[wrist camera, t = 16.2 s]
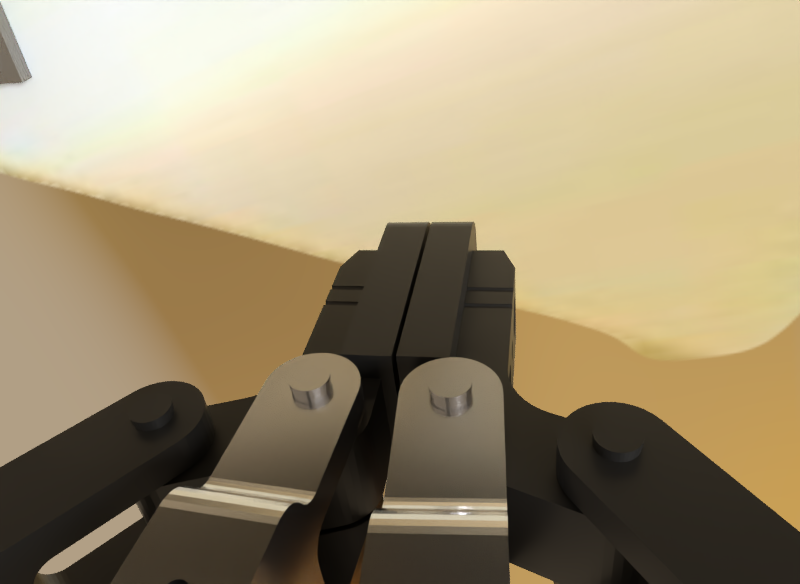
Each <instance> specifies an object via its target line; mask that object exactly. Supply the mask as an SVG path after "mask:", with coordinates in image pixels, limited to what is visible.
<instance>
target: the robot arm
mask: <svg viewBox="0 0 800 584" xmlns="http://www.w3.org/2000/svg"><path fill="white" fill-rule="evenodd" d="M515 318H516V314H515V267H514V266H513V264H512V263H511V261H510V260H509V258H508V257H507V255H506V253H505V252H504V251H477V245H476V229H475V223H474V222H432V224H430V223H429V222H414V223H388V224H387V226H386V228H385V231H384V234H383V236H382V239H381V242H380V244H379V247H378V250H359V251H358V252H357V253H355V254H354V255H353V256H352V257H351V258H350V259H349V260H348V261H346V262H345V263H344V264H343V265H342V266H341V267H340V269H339V271H338V273H337V276H336V278H335V280H334V283H333V285H332V289H331V290H330V292H329V295H328V297H327V299H326V305H324V306H323V308H322V311H321V313H320V315H319V318H318V320H317V322H316V325H315V327H314V329H313V332H312V334H311V336H310V339H309V341H308V343H307V346H306V348H305V350H304V353H303V355H302V356H299V357H297V358H294V359H292V360H289V361H287V362H286V363H284V364H282V365H281V366H279V367H278V368H277V369H276V370H274V372H273V373H271V375H270V376H269V377H268V378H267V380H266V381H265V383H264V385H263V386H262V388H261V390H260V392H259V393H258V395H256V396H253V397H248V398H245V399H239V400H234V401H229V402H224V403H220V404H214V405H209V406H207V405H206V402H205V400H204V397H203V395H202V393H201V392H200V391H199V389H197V388H196V387H195V386H193V385H191V384H188V383H184V382H177V381H167V382H161V383H156V384H152V385H149V386H146V387H143V388H141V389H139V390H137V391H135V392H133V393H131V394H129V395H128V396H126V397H124V398H122V399H121V400H119V401H117V402H115V403H113V404H112V405H110V406H108V407H106V408H105V409H103V410H101V411H99V412H97V413H96V414H94V415H92V416H90V417H89V418H87V419H85V420H83V421H82V422H80V423H78V424H76V425H75V426H73V427H71V428H69V429H67V430H66V431H64V432H62V433H60V434H58V435H57V436H55V437H53V438H51V439H50V440H48V441H46V442H45V443H42V444H41V445H39V446H37V447H35V448H34V449H32V450H30V451H28V452H27V453H25V454H23V455H21V456H19V457H18V458H16V459H14V460H13V461H11V462H9V463H7V464H5V465H4V466H2V467H0V584H510V574H509V573H510V572H509V563H512V564H514V565H517V566H519V567H521V568H524V569H526V570H528V571H531V572H533V573H536V574H538V575H540V576H543V577H545V578H548V579H550V580H552V581H553V582H554V584H800V532H799V531H798V530H797V529H795V528H794V527H793V526H792V525H790V524H789V523H788V522H787V521H786V520H784V519H783V518H782V517H781V516H779V515H778V514H777V513H776V512H774V511H773V510H772V509H771V508H770V507H768V506H767V505H766V504H765V503H763V502H762V501H761V500H760V499H758V498H757V497H756V496H755V495H753V494H752V493H751V492H750V491H749V490H747V489H746V488H745V487H743V486H742V485H741V484H740V483H738V482H737V481H736V480H735V479H734V478H732V477H731V476H730V475H729V474H727V473H726V472H725V471H724V470H723V469H721V468H720V467H719V466H718V465H716V464H715V463H714V462H713V461H711V460H710V459H709V458H708V457H706V456H705V455H704V454H703V453H701V452H700V451H699V450H698V449H697V448H695V447H694V446H693V445H692V444H690V443H689V442H688V441H687V440H686V439H684V438H683V437H682V436H681V435H679V434H678V433H677V432H676V431H674V430H673V429H672V428H671V427H669V426H668V425H667V424H666V423H665V422H663V421H662V420H661V419H659V418H658V417H657V416H655V415H654V414H652V413H650V412H648V411H646V410H644V409H642V408H639V407H636V406H633V405H629V404H625V403H617V402H602V403H595V404H590V405H586V406H584V407H582V408H580V409H577V410H576V411H574V412H573V413H571V414H570V415H569V416H568V417H567V418H564V417H562V416H558V415H555V414H552V413H549V412H546V411H543V410H541V409H539V408H537V407H535V406H533V405H531V404H530V403H528V402H527V401H525V400H524V399H523V398H522V397H521V396H519V394H517V392H516V391H515V389H514V388H513V375H514V358H515V342H516V319H515ZM386 480H387V482H386ZM385 484H386V489H385V496H384V498H383V492H384V488H385ZM135 503H136V504H137V505H138V508H139V510H140V512H141V514H142V515H143V518H141V519H140V520H138V521H137V522H135V523H134V524H132V525H131V526H129V527H128V528H126V529H125V530H123V531H122V532H120V533H119V534H117V535H116V536H114V537H113V538H111V539H110V540H109V541H107V542H106V543H104V544H103V545H101V546H100V547H98V548H96V549H95V550H93V551H92V552H90V553H89V554H88V555H86V556H84V557H83V558H81V559H80V560H78V561H77V562H75V563H74V564H72V565H71V566H69V567H68V568H66V569H65V570H63V571H60V572H58V573H55V574H49V575H44V574H40V573H38V571H39V570H40V569H41V567H42V566H43V565H44V564H45V563H46V562H47V561H48V560H50V559H51V558H53V557H54V556H55V555H57V554H59V553H60V552H62V551H63V550H65V549H66V548H68V547H69V546H71V545H72V544H74V543H75V542H77V541H78V540H80V539H82V538H83V537H84V536H86V535H88V534H89V533H91V532H92V531H94V530H95V529H97V528H98V527H100V526H101V525H103V524H105V523H106V522H108V521H109V520H110V519H112V518H114V517H115V516H117V515H118V514H120V513H121V512H123V511H124V510H126V509H128V508H129V507H131V506H132V505H134V504H135Z"/></svg>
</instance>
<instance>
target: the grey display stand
mask: <svg viewBox="0 0 800 584" xmlns="http://www.w3.org/2000/svg"><path fill="white" fill-rule="evenodd" d="M29 78H31V74H30V72H29V69H28V67H27V65H26V62H25V60H24V58H23V55H22V53H21V50H20V48H19V46H18V43H17V41H16V39H15V36H14V34H13V32H12V29H11V27H10V24H9V22H8V20H7V17H6V15H5V13H4V10H3V8H2V5H1V3H0V84H1V83H19V82H24V81H25V80H27V79H29Z"/></svg>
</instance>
